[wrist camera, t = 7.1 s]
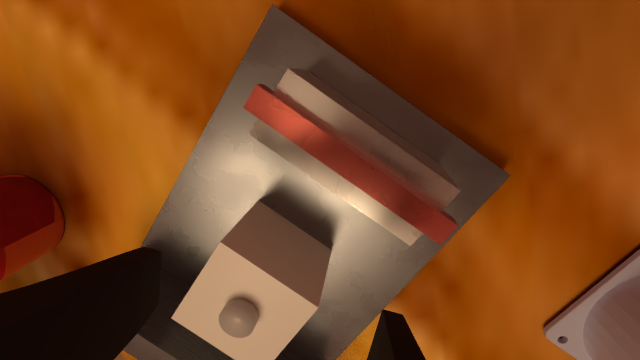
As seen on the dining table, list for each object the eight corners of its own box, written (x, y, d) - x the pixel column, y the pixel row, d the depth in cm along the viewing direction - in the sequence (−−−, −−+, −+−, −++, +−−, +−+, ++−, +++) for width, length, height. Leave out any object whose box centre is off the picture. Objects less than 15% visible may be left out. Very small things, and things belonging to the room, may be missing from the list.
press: (503, 169, 17) (566, 215, 12) (312, 374, 23) (293, 470, 18) (277, 8, 17) (229, -26, 11) (139, 260, 23) (61, 322, 17)
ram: (449, 170, 17) (477, 205, 12) (410, 215, 18) (423, 263, 13) (299, 63, 16) (270, 59, 12) (267, 115, 17) (230, 129, 13)
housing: (331, 250, 19) (316, 317, 14) (285, 307, 21) (256, 387, 15) (258, 200, 19) (213, 248, 14) (217, 262, 20) (163, 327, 15)
